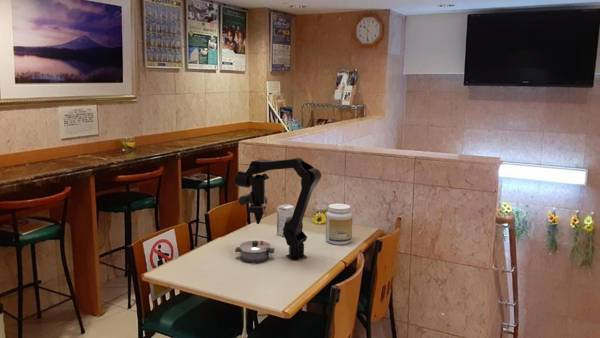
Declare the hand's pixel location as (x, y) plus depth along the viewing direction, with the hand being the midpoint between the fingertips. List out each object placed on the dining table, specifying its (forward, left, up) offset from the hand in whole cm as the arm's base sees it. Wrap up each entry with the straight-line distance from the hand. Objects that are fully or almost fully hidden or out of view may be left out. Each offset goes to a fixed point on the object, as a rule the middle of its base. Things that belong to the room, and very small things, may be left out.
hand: (258, 223), depth 217 cm
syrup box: (+11, -23, -12) cm, 28 cm away
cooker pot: (-8, +6, -12) cm, 16 cm away
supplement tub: (-11, -38, -12) cm, 41 cm away
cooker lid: (-8, +6, -7) cm, 13 cm away
